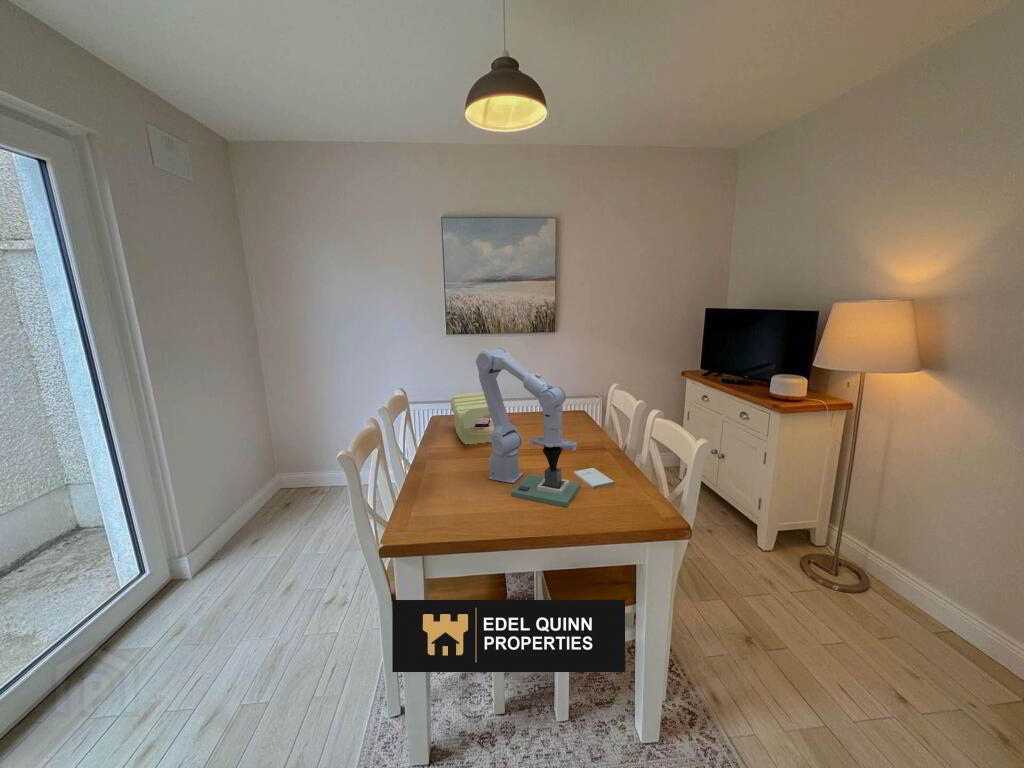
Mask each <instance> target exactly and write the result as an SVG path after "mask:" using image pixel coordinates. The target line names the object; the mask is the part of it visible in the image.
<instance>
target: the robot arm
mask: <svg viewBox="0 0 1024 768" xmlns="http://www.w3.org/2000/svg"><path fill="white" fill-rule="evenodd" d="M475 364H476V367H477V371H478V379H479V383H480V385H481V389H482V392H483V393H484V396H485V399H486V402H487V406H488V409H489V412H490V415H489V416H490V418H491V422H492V425H493V429H492V430H491V431H492V433H491V435H490V436H491V440H492V442H491V449H492V452H491V453H490V456H489V463H488V464H489V465H488V466H489V477H488V479H489V480H493V481H498V482H504V483H508V484H515V483H516V482H517V481H518V480H519V479H520V478H521V477H523V475H524V473H523V472H519V451H520V447H521V446H522V444H523V438H522V436H521V434H520V433H519V431H518V429H517V426H516V425H514V424H513V423H511V422H510V418H509V416H508V413H507V409H506V406H505V403H504V400H503V399H504V398H503V396H502V393H501V390H500V387H499V383H498V380H497V378H498V376H499V374H500V373H501V372H502V371H503V370H505V371H506V372H508V373H509V374H510V375H512V376H513V377H515V378H516V379H518V380H519V381H521V382H522V384H523V388H524V389H525V390H527V392H529V393H530V394H532V396H534V397H535V398H536V399H538V403H539V405H540V406H541V409H542V411H541V412H542V415H543V416H542V417H543V421H542V422H543V423H542V427H543V429H542V430H543V437H535V436H534V437H531V438H530V439H529V440H530V441H529V445H530V446H540V447H542V446H543V448H542V452H543V454H544V456H545V458H546V460H547V462H548V467H549V466H550V470H555V469H556V468H557V465H558V461H559V459H560V456H561V454H562V452H563V449H564V450H565V449H566V450H571V451H574V452H576V450H577V448H578V447H577V446H578V445H577V444H578V443H577V441H576V442H574V441H571V440H566V439H564V438H563V404H564V403H565V402H566V396H567V395H566V393H565V391H564V390H563V389H562V388H561V387H560V386H558V385H556V386H554V385H553V384H552V383H549V382H548V381H546V380H545V379H543V378H542V375H541V374H540V373H535V372H533V373H530V372H529V371H528V370H527V369H526V368H524V367H523V366H522V365H521V364H520V363H518V361H516V360H515V359H514V358H513V357H512V354H511V353H510V352H508V351H507V350H506V349H504V348H503V347H502V348H497V349H491V350H482V351H480V352H479V353H478V356H477V357H476V359H475Z"/></svg>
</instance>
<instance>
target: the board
mask: <svg viewBox="0 0 1024 768" xmlns="http://www.w3.org/2000/svg"><path fill="white" fill-rule="evenodd" d="M581 486H582V485H581V482H577V481H573V480H572V481H571V480H568V479H564V478H561V487H560V488H559V489H555V488H550V487H545V476H542V475H536V474H531V473H530V474H528V475H527V476H526V477H525V478H523V480H521V482H519V483H518V484H517V486H515V487H514V489H512V490H511V491H510V494H511V495H510V497H512V498H513V497H514V498H517V499H522V500H526V501H527V500H528V501H531V502H538V503H543V504H548V505H553V506H557V507H562V508H568V507H569V505H570V503H571V502H572V501H573V499H574V498H575V496H576V495H577V493H578V492H579V490H580V489H581Z"/></svg>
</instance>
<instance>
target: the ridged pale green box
mask: <svg viewBox="0 0 1024 768" xmlns="http://www.w3.org/2000/svg"><path fill="white" fill-rule="evenodd" d="M450 409H451V410H450V411H452V413H453V416H454V424H455V431H456V434H457V436H458V437H459V439H460V440H461V442H462V443H463V444H464V445H466V446H468V445H467V444H475V445H478V444H477V443H482V444H487V443H486V442H489V443H492V440H491V436H490V435H491V433H492V431H493V430H492V429H478V430H474V428H475V427H476V423H477V422H478V420H480V419H481V418H484V417H489V416H491V415H490V412H489V409H488V406H487V402H486V399H485V396H484V393H483V391H478V392H477V391H476V392H468V393H467V392H465V393H458V394H455V395H453V396H452V397H451V400H450ZM472 428H473V429H472Z"/></svg>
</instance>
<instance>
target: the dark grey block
mask: <svg viewBox="0 0 1024 768" xmlns="http://www.w3.org/2000/svg"><path fill="white" fill-rule="evenodd" d="M544 477H545V487H550V488H555V489H559V488H560V487H561V479H562V467H557V468H556V469H555V470H550V466H549V465H548V467H547V468H546V469H545V470H544Z"/></svg>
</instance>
